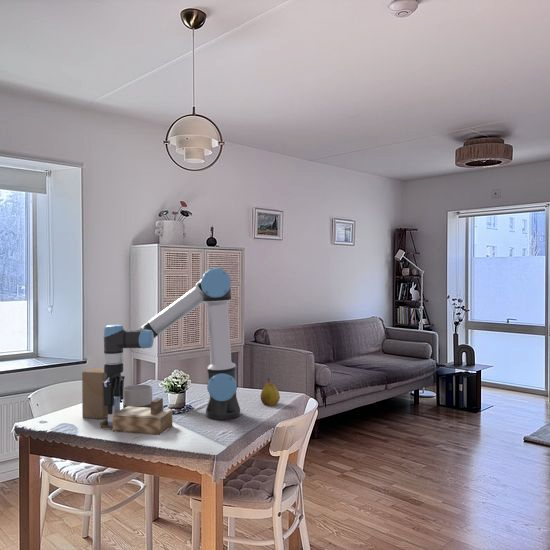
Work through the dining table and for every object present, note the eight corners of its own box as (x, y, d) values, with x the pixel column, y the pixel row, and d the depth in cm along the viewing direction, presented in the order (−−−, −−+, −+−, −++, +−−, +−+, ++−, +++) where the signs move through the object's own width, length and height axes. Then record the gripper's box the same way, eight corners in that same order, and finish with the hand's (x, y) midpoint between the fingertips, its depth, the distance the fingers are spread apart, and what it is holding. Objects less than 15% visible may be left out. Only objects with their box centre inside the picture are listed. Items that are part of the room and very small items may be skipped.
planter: (141, 415, 229) (141, 392, 229) (117, 413, 233) (117, 389, 233) (157, 408, 241) (157, 385, 241) (134, 405, 245) (134, 383, 245)
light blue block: (121, 425, 214) (121, 396, 214) (117, 428, 211) (117, 398, 211) (110, 424, 216) (110, 395, 215) (105, 427, 212) (105, 397, 212)
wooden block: (103, 419, 224) (102, 372, 223) (82, 417, 226) (81, 371, 225) (114, 412, 233) (114, 368, 233) (94, 411, 235) (94, 367, 235)
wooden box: (172, 426, 214) (172, 411, 214) (159, 435, 202) (159, 419, 202) (128, 422, 219) (127, 408, 218) (112, 431, 207) (112, 416, 207)
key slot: (125, 424, 216) (125, 418, 216) (116, 429, 209) (116, 423, 209) (109, 423, 218) (109, 417, 218) (100, 428, 211) (100, 422, 211)
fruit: (276, 407, 242) (276, 381, 242) (258, 405, 245) (258, 380, 245) (282, 403, 250) (282, 378, 250) (264, 401, 253) (264, 376, 253)
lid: (172, 411, 213) (171, 397, 213) (159, 418, 203) (159, 404, 202) (127, 408, 218) (127, 394, 218) (113, 415, 207) (113, 401, 207)
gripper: (115, 359, 222) (116, 414, 222) (94, 366, 206) (94, 425, 206) (132, 359, 220) (132, 415, 220) (111, 367, 204) (111, 426, 204)
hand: (113, 420), depth 213 cm, fingers closed on light blue block, 3 cm apart
